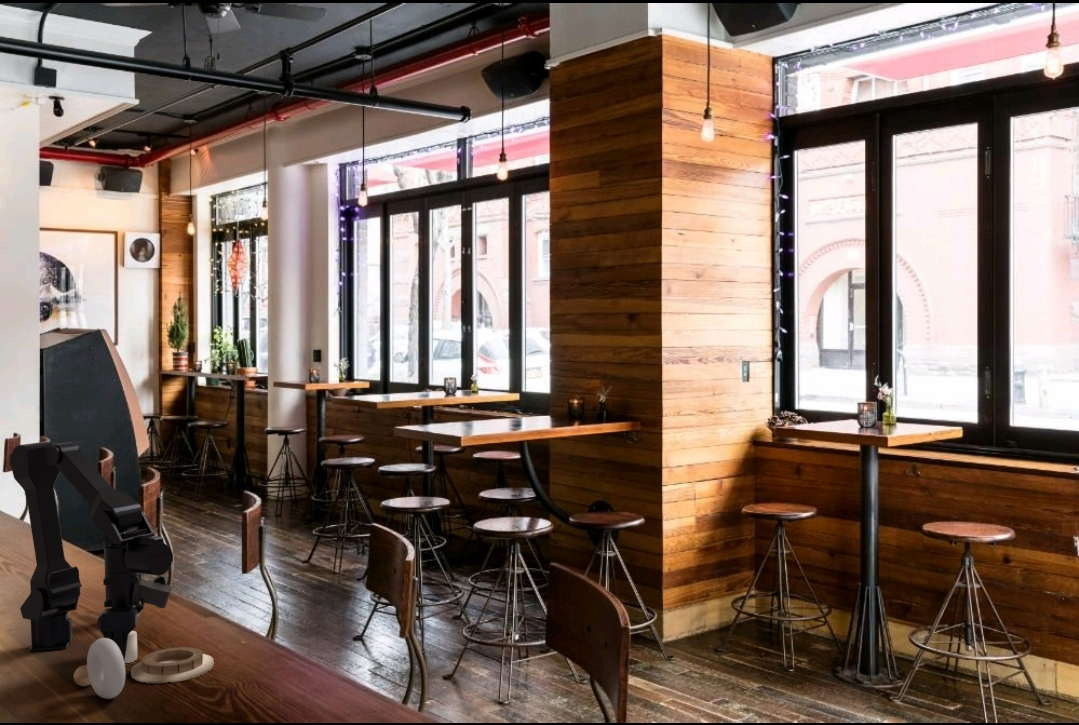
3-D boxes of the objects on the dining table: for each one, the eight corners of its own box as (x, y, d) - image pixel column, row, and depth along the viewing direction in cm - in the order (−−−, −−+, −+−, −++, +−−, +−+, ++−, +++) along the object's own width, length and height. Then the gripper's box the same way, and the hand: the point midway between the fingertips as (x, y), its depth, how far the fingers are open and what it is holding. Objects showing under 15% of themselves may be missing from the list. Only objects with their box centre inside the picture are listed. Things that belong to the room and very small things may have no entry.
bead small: (72, 690, 175) (71, 670, 175) (75, 683, 179) (75, 663, 179) (94, 687, 176) (93, 667, 176) (97, 681, 180) (96, 661, 179)
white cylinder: (110, 666, 188) (109, 638, 187) (113, 658, 192) (112, 631, 192) (136, 663, 189) (135, 636, 189) (138, 656, 193) (137, 629, 193)
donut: (84, 693, 174) (82, 634, 173) (104, 687, 176) (102, 630, 176) (109, 708, 167) (107, 647, 166) (130, 702, 169) (128, 642, 169)
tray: (126, 687, 176) (126, 673, 176) (135, 661, 190) (135, 648, 190) (212, 678, 180) (211, 664, 180) (215, 653, 194) (214, 640, 194)
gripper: (163, 578, 183) (166, 665, 183) (171, 555, 201) (174, 634, 201) (95, 583, 180) (99, 671, 180) (110, 559, 198) (113, 640, 198)
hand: (124, 653), depth 190 cm, fingers open, 9 cm apart
